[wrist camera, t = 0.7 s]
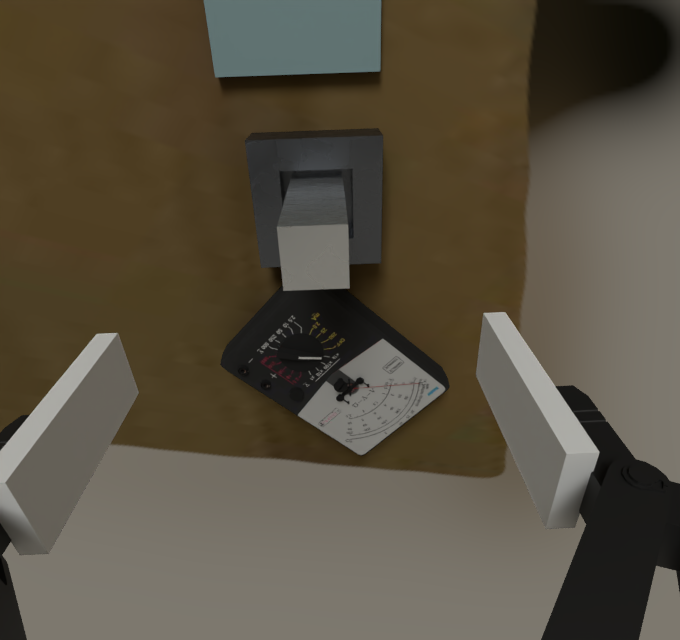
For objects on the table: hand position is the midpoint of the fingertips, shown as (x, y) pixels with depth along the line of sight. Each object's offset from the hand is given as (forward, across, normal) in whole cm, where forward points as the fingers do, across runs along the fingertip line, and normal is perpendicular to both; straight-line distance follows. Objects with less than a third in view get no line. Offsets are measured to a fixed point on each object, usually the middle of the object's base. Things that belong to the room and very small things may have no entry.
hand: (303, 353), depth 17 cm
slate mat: (+25, -1, +13) cm, 28 cm away
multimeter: (+26, +1, -18) cm, 31 cm away
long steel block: (+24, 0, -1) cm, 24 cm away
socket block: (+25, 0, -1) cm, 25 cm away
